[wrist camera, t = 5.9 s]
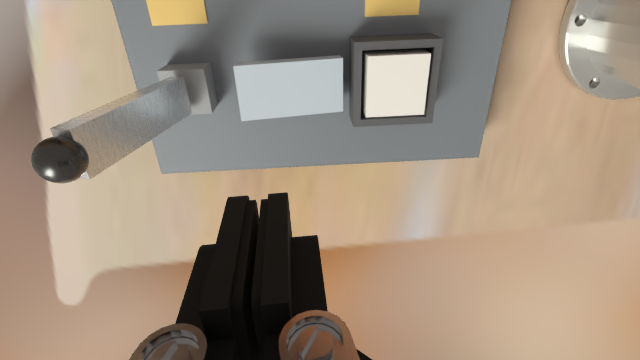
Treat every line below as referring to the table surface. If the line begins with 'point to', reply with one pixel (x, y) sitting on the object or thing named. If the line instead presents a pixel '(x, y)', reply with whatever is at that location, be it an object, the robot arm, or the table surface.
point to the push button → (394, 82)
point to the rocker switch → (289, 87)
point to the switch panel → (314, 41)
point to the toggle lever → (110, 132)
